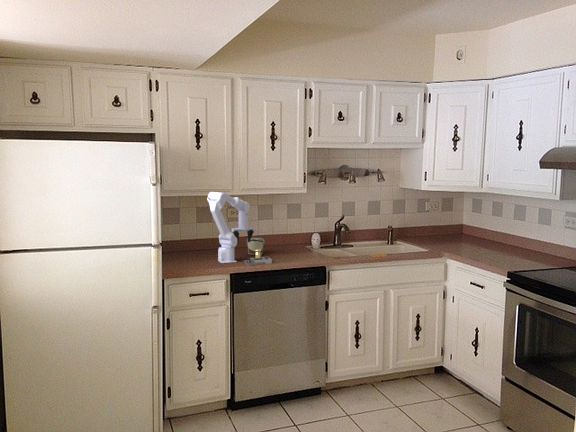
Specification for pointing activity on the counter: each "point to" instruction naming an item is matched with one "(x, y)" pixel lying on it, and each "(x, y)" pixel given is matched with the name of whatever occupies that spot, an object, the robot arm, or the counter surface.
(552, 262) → the counter surface
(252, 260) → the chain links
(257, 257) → the brass pin
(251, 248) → the food container
